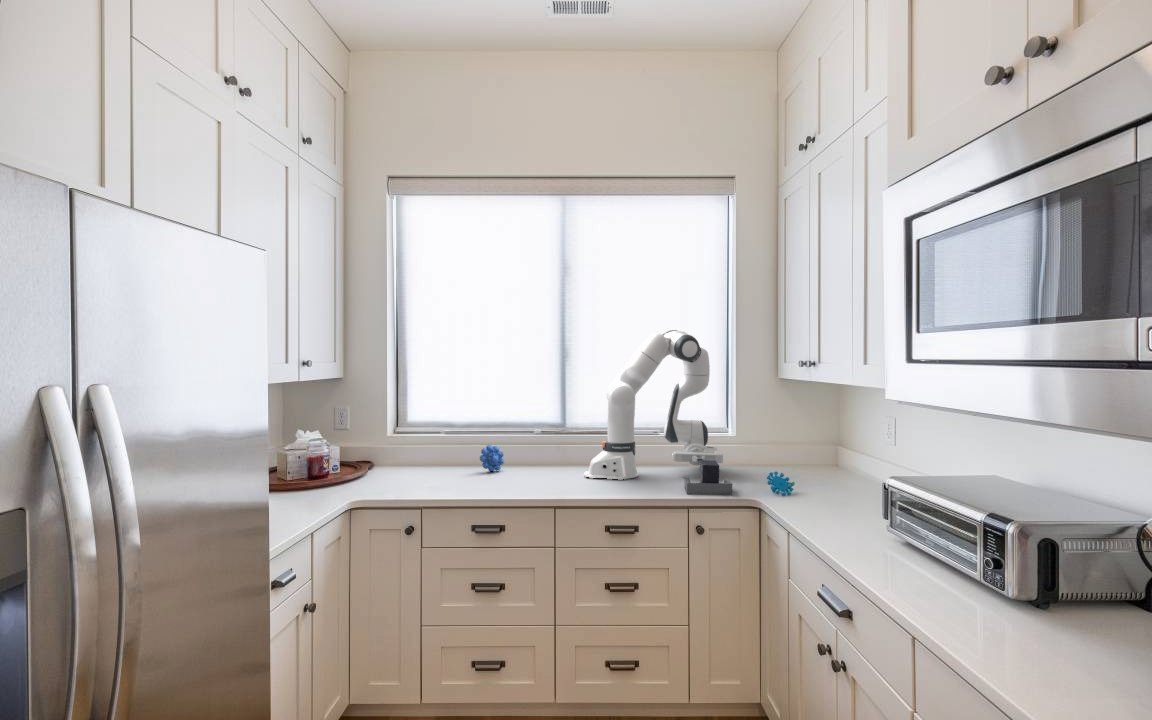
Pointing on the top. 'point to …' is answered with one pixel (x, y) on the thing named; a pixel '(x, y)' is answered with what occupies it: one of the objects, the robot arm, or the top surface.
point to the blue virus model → (780, 483)
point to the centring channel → (708, 488)
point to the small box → (709, 471)
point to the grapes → (492, 458)
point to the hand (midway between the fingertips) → (699, 460)
